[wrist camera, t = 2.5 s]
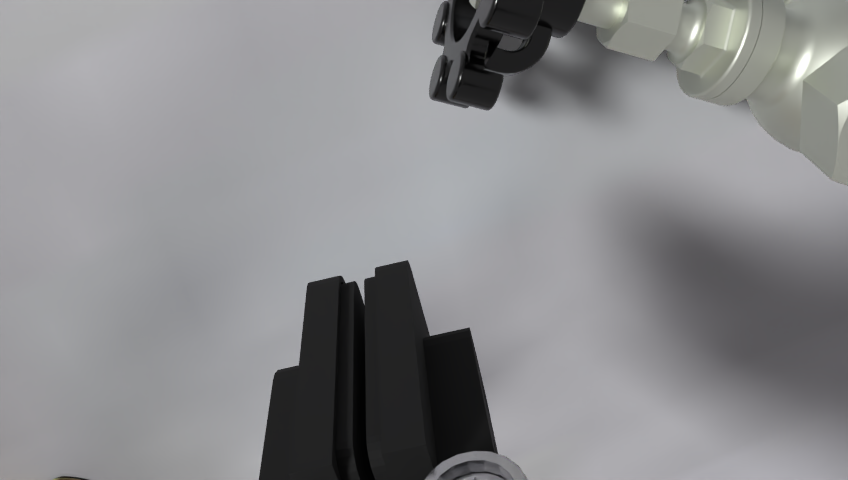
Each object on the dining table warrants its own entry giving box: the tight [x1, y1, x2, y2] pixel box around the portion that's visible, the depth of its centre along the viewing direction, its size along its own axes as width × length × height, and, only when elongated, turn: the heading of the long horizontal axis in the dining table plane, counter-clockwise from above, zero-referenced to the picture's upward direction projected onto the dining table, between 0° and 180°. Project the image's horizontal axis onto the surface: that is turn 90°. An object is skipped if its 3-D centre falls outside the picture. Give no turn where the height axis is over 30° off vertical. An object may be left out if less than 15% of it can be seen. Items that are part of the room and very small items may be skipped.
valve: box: [429, 0, 848, 186], centre depth 18 cm, size 7×7×12 cm
